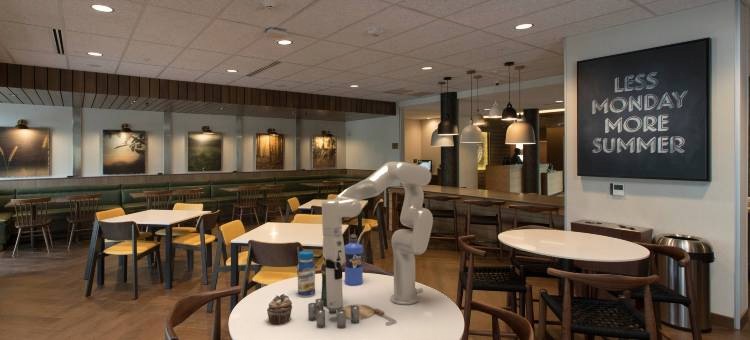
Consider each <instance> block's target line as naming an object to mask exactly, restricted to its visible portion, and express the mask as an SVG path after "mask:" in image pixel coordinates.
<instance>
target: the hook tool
mask: <svg viewBox="0 0 750 340" xmlns="http://www.w3.org/2000/svg"><path fill="white" fill-rule="evenodd" d="M373 309H374V312H375V313H374V315H377V316H379V317H380V316H381V318H383V317H384V319H385V320H388V321H387V322H385V326H390V325H393V324H396V323H397V320H396V319H395V318H392V317H391V316H389V315H387V314H385V311H383V310H381V309H380V308H373Z"/></svg>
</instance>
